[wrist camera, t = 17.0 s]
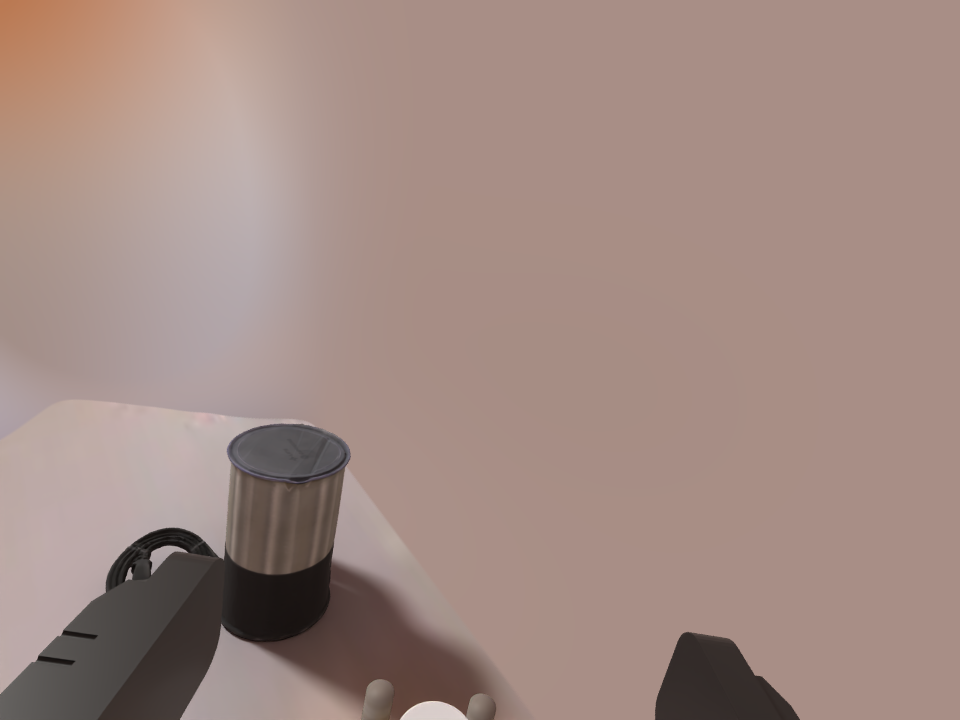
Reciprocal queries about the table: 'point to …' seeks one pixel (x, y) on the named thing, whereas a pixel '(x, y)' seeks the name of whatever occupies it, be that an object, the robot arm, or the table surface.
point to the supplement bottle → (433, 712)
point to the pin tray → (383, 693)
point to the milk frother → (267, 531)
